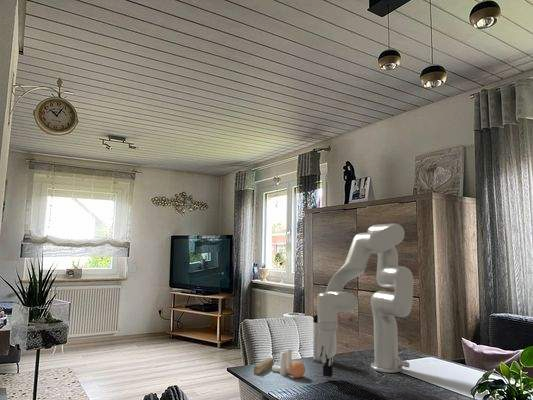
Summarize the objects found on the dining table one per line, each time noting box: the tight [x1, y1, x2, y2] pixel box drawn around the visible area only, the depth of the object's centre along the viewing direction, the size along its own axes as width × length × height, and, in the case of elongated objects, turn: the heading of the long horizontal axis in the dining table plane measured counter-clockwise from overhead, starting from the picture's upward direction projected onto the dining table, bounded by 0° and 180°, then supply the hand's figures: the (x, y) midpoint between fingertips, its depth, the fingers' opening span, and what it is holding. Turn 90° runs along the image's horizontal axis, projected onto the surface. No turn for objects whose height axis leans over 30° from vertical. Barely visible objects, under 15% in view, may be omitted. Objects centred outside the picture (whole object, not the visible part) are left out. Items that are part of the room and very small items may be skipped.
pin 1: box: [279, 351, 287, 377], centre depth 155 cm, size 2×2×8 cm
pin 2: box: [285, 348, 293, 368], centre depth 160 cm, size 2×2×8 cm
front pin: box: [271, 364, 291, 375], centre depth 158 cm, size 2×2×8 cm
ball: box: [290, 360, 306, 379], centre depth 152 cm, size 6×6×6 cm
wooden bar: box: [253, 357, 275, 376], centre depth 161 cm, size 2×14×3 cm, turn 153°
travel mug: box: [312, 314, 323, 364], centre depth 177 cm, size 6×7×20 cm
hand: (327, 375), depth 149 cm, fingers closed
